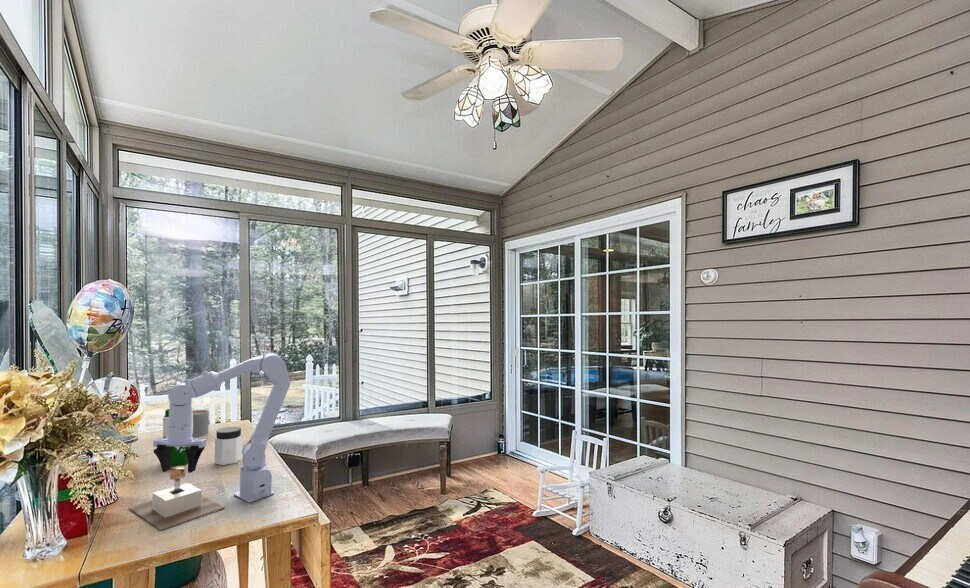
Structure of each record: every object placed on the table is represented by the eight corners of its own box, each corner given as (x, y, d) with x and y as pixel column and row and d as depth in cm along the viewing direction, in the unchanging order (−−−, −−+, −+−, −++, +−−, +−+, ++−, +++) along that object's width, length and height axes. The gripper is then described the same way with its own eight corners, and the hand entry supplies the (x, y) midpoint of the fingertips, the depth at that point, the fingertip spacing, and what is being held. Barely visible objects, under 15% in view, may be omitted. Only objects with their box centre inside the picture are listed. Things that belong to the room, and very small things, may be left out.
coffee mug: (210, 430, 209) (210, 408, 209) (206, 436, 200) (206, 413, 200) (176, 433, 204) (176, 411, 204) (170, 439, 195) (171, 416, 195)
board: (224, 508, 131) (224, 507, 131) (160, 531, 117) (160, 529, 117) (190, 490, 143) (190, 488, 143) (128, 508, 130) (128, 507, 130)
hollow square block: (200, 505, 131) (201, 489, 131) (165, 517, 124) (165, 500, 124) (186, 497, 136) (187, 482, 137) (152, 508, 129) (152, 492, 129)
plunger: (186, 493, 131) (187, 467, 131) (172, 497, 128) (173, 471, 128) (181, 490, 133) (181, 465, 133) (167, 494, 130) (168, 468, 130)
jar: (214, 467, 163) (215, 433, 163) (213, 460, 170) (214, 428, 170) (242, 462, 168) (243, 430, 168) (240, 456, 175) (241, 425, 175)
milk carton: (166, 460, 169) (167, 407, 169) (194, 457, 172) (195, 405, 173) (159, 468, 161) (160, 412, 161) (188, 465, 164) (190, 410, 165)
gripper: (213, 421, 136) (211, 466, 135) (166, 420, 136) (164, 465, 136) (197, 428, 129) (196, 475, 128) (148, 427, 129) (146, 474, 129)
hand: (179, 471), depth 131 cm, fingers open, 7 cm apart
